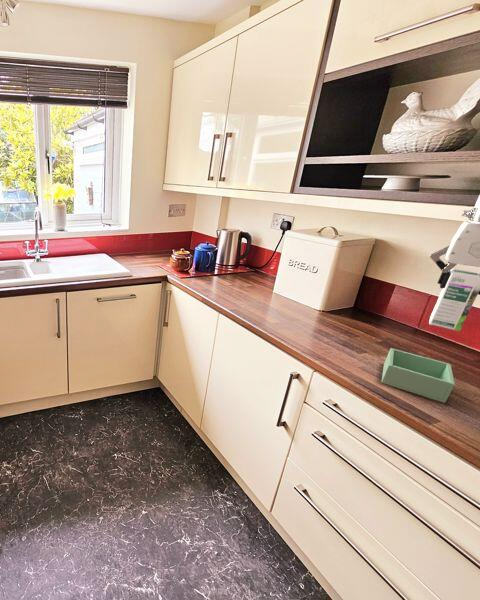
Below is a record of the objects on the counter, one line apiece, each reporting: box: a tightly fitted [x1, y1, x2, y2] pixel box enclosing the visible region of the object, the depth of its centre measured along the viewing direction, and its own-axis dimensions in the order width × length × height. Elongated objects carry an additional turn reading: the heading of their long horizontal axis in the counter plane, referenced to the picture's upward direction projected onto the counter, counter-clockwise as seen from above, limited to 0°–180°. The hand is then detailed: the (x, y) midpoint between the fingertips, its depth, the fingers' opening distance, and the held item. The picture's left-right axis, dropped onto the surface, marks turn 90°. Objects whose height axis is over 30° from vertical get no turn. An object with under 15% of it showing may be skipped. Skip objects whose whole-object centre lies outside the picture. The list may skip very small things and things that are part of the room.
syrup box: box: [428, 268, 480, 332], centre depth 86 cm, size 6×6×14 cm
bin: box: [381, 347, 455, 404], centre depth 93 cm, size 13×13×6 cm
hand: (460, 289), depth 85 cm, fingers closed on syrup box, 5 cm apart
